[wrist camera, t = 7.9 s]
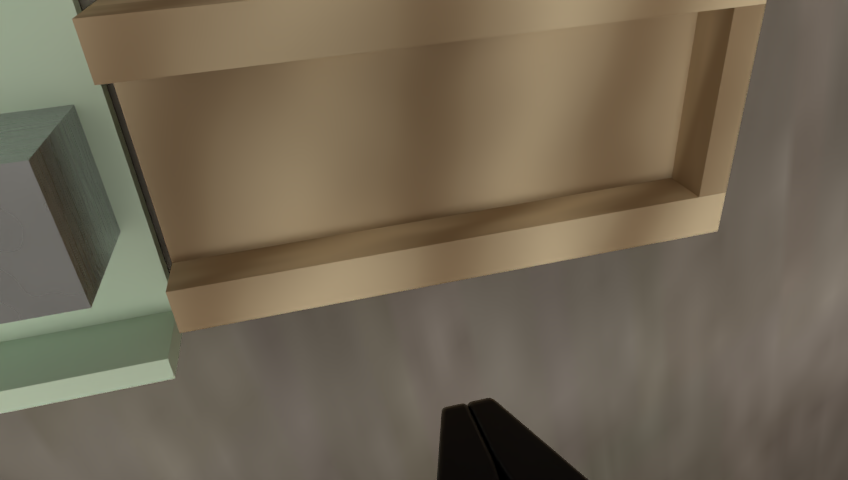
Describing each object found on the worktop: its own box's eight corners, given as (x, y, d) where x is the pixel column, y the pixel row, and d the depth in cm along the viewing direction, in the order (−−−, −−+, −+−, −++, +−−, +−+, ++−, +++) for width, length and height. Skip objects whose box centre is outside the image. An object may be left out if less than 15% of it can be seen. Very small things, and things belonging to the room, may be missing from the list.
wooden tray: (713, -63, 19) (778, -55, 17) (671, 196, 24) (717, 231, 21) (98, -2, 16) (71, 18, 14) (188, 282, 21) (179, 333, 18)
